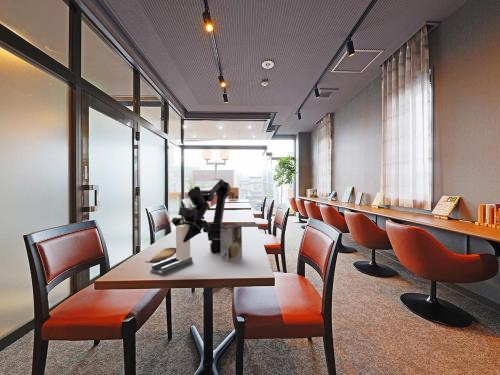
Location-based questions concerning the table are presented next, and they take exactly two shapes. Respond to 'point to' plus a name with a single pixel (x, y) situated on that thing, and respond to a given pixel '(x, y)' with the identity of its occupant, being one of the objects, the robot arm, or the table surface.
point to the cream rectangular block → (182, 243)
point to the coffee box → (231, 242)
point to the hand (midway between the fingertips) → (180, 241)
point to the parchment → (163, 255)
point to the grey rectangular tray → (170, 266)
